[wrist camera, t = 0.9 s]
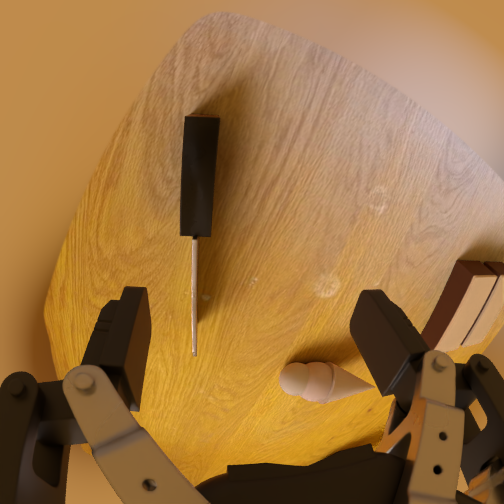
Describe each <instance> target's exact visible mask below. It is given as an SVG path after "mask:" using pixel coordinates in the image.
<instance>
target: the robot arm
mask: <svg viewBox="0 0 504 504" xmlns="http://www.w3.org/2000/svg"><path fill="white" fill-rule="evenodd" d="M407 318H408V317H407V316H406V315H405V313H404V312H403V311H402V309H401V308H400V307H398V306H397V305H396V304H394V303H393V302H392V301H390V300H389V298H388V297H387V296H386V294H385V293H384V292H383V291H382V290H380V289H376V290H363V291H362V292H361V293H360V296H359V298H358V301H357V304H356V307H355V309H354V312H353V315H352V317H351V320H350V333H351V335H352V337H353V339H354V341H355V343H356V345H357V347H358V349H359V351H360V353H361V355H362V357H363V359H364V361H365V363H366V365H367V367H368V369H369V371H370V373H371V375H372V377H373V379H374V381H375V383H376V385H377V387H378V389H379V391H380V393H381V395H382V397H384V396H388V395H392V394H394V396H395V399H394V400H393V402H392V405H391V408H390V412H389V416H388V420H387V423H386V427H385V430H384V434H383V437H382V440H381V442H380V444H379V446H378V447H377V448H376V450H375V451H373V448H372V445H371V444H367V445H363V446H359V447H355V448H351V449H347V450H343V451H339V452H337V453H335V454H333V455H331V456H329V457H327V458H325V459H323V460H320V461H318V462H316V463H314V464H311V465H309V466H294V465H282V464H273V463H258V464H244V465H227V473H225V474H221V475H217V476H215V477H212V478H210V479H208V480H206V481H204V482H202V483H200V484H199V485H197V486H196V487H194V486H193V485H192V484H191V483H190V482H189V481H188V480H187V479H186V478H185V477H184V476H183V474H182V473H181V472H180V471H179V470H178V469H177V468H176V466H175V465H174V464H173V463H172V462H171V461H170V459H169V458H168V457H167V456H166V455H165V453H164V452H163V451H162V450H161V448H160V447H159V446H158V445H157V443H156V442H155V441H154V440H153V438H152V437H151V436H150V434H149V433H148V432H147V431H146V430H145V429H144V428H143V427H141V426H140V425H139V424H138V423H137V421H136V420H135V418H134V417H133V415H132V414H131V412H130V411H137V412H139V411H140V403H141V395H142V388H143V381H144V375H145V368H146V362H147V356H148V350H149V345H150V339H151V316H150V309H149V301H148V293H147V288H146V287H131V286H126V287H125V288H124V290H123V293H122V295H121V298H120V300H110V301H109V302H108V303H107V304H106V305H105V306H104V307H103V308H102V309H101V312H100V314H99V317H98V319H97V320H98V321H97V322H96V324H95V327H94V331H93V332H92V335H91V337H90V340H89V343H88V345H87V348H86V351H85V354H84V357H83V359H82V362H81V365H80V366H77V367H75V368H73V369H72V370H70V371H69V372H68V373H67V374H66V376H65V378H64V379H63V380H59V381H52V382H43V383H37V381H36V380H35V378H34V377H33V376H32V375H31V374H29V373H27V372H15V373H12V374H11V375H9V376H8V377H7V378H6V379H5V380H4V381H3V383H2V385H1V387H0V504H65V496H66V495H65V494H66V483H67V482H66V481H67V472H68V462H69V453H70V447H71V445H73V444H83V443H89V445H90V447H91V449H92V455H93V457H94V459H95V461H96V463H97V464H98V466H99V467H100V469H101V471H102V472H103V474H104V476H105V477H106V479H107V480H108V482H109V483H110V485H111V486H112V488H113V489H114V491H115V492H116V494H117V495H118V496H119V498H120V499H121V501H122V502H123V503H124V504H504V380H503V378H502V377H501V375H500V374H499V372H498V371H497V369H496V368H495V366H494V365H493V363H492V362H491V361H490V360H489V359H488V358H487V357H485V356H483V355H481V354H474V355H472V356H471V357H470V359H469V360H468V362H467V363H466V364H461V363H454V362H453V360H452V359H451V358H450V357H449V356H448V355H447V354H446V353H444V352H442V351H439V350H431V349H430V348H429V347H428V345H427V344H426V342H425V341H424V339H423V338H422V337H421V335H420V334H419V332H418V331H417V330H416V328H415V327H414V326H413V324H412V323H411V321H410V320H409V319H407ZM476 398H477V399H478V401H479V403H480V405H481V407H482V408H483V410H484V412H485V414H486V416H487V425H486V427H485V428H484V429H483V430H482V431H480V429H479V427H478V425H477V423H476V421H475V419H474V417H473V415H472V413H471V411H470V409H469V406H470V405H471V404H472V403H473V402H474V400H475V399H476ZM460 467H461V470H462V472H463V474H464V477H465V480H466V482H467V485H468V488H469V489H468V490H467V491H465V492H464V493H462V492H460V491H458V490H456V489H457V483H458V477H459V471H460Z"/></svg>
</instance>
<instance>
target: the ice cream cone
mask: <svg viewBox="0 0 504 504" xmlns="http://www.w3.org/2000/svg"><path fill="white" fill-rule="evenodd" d="M279 383H280V386H281V388H282V389H283V391H285V392H286V393H287V394H290V395H294V396H297V395H300V396H301V397H302V398H304V399H306V400H308V401H318V402H319V403H320V404H325V403H328V402H332V401H335V400H338V399H342V398H345V397H348V396H351V395H354V394H357V393H360V392H363V391H366V390H369V389H372V388H375V387H374V386H373V385H371V384H369V383H367V382H365V381H364V380H362V379H360V378H358V377H356V376H355V375H353V374H351V373H349V372H347V371H346V370H344V369H342V368H340V367H339V366H337V365H335V364H333V363H332V362H329V361H328V362H326V363H322V362H310V363H308V364H306V365H305V364H303V363H298V362H295V363H291V364H288V365H287V366H285V367H284V368H283V370H282V371H281V373H280V376H279Z"/></svg>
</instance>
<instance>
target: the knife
mask: <svg viewBox="0 0 504 504" xmlns="http://www.w3.org/2000/svg"><path fill="white" fill-rule="evenodd" d="M219 125H220V117H219V115H203V114H190V115H187V116H185V122H184V136H183V152H182V171H181V197H180V236H193V238H192V343H193V356H197V324H198V252H199V237H211V226H212V211H213V196H214V183H215V170H216V158H217V146H218V136H219Z"/></svg>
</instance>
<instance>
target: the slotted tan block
mask: <svg viewBox="0 0 504 504" xmlns="http://www.w3.org/2000/svg"><path fill="white" fill-rule="evenodd" d="M503 306H504V263H503V262H487V261H485V262H484V264H482V263H481V262H480V261H463V260H457V261H456V263H455V266H454V268H453V271H452V273H451V275H450V277H449V280H448V282H447V284H446V286H445V288H444V291H443V293H442V295H441V297H440V299H439V301H438V303H437V305H436V307H435V309H434V311H433V313H432V315H431V317H430V319H429V321H428V323H427V324H426V326H425V328H424V330H423V332H422V334H421V337H422V338H423V339H424V341H425V342H426V344H427V345H428V347H429V348H430V349H431V350H439V351H442V352H448V351H452V350H456V349H458V347H459V346H460V344H461V345H462V347H467V346H470V345H474V344H477V343H480V342H482V341H483V339H484V338H485V336H486V335H487V333H488V331H489V330H490V328H491V327H492V325H493V323H494V321H495V320H496V318H497V316H498V315H499V313H500V311H501V309H502V307H503Z"/></svg>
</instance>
